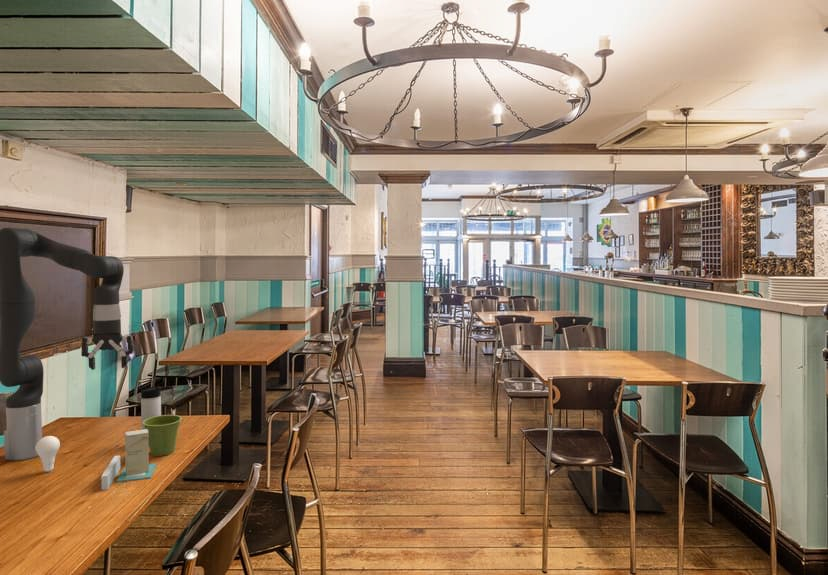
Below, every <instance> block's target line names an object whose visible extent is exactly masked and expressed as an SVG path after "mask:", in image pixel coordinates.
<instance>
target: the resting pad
mask: <svg viewBox="0 0 828 575" xmlns="http://www.w3.org/2000/svg"><path fill="white" fill-rule="evenodd" d="M157 464H158V463H157V462H154V463H149V471H148V472H144V473H138V474H132V475H126V468H125V466H124V467H123V469H122V470H121V473H120V474H119V476H118V477H117V479H116V483H121V482H129V481H139V480H145V479H146V480H147V479H152V476H153V474H154V472H155V469H156V467H157Z"/></svg>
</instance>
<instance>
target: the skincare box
mask: <svg viewBox="0 0 828 575" xmlns="http://www.w3.org/2000/svg"><path fill="white" fill-rule="evenodd" d="M124 434H125V435H124V444H125V445H124V446H125V447H124V449H125V452H124V453H125V462H124V463H125V466H124V467H125V468H126V475H132V474H138V473H144V472H148V471H149V464H150V463H149V462H150V461H149V456H150V455H149V454H150V453H149V445H148V429H143V430H142V429H136V430H130V431H125V433H124Z"/></svg>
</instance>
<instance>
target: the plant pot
mask: <svg viewBox="0 0 828 575" xmlns="http://www.w3.org/2000/svg"><path fill="white" fill-rule="evenodd" d="M182 418H183V417H182V416H180V415H177V414H163V415H162V414H161V416H155V417H151V418H148V419H146V420H144V421H143V425H145V429H148V442H149V445H148V448H149V451H150V455H151V456H153V457H154V456H155V457H162V456H165V455H171V454H173V453H174V452H175V450H176V444H177V439H178V438H177V437H178V430H179V427H180V424H181V423H180V422H181V420H182Z"/></svg>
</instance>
